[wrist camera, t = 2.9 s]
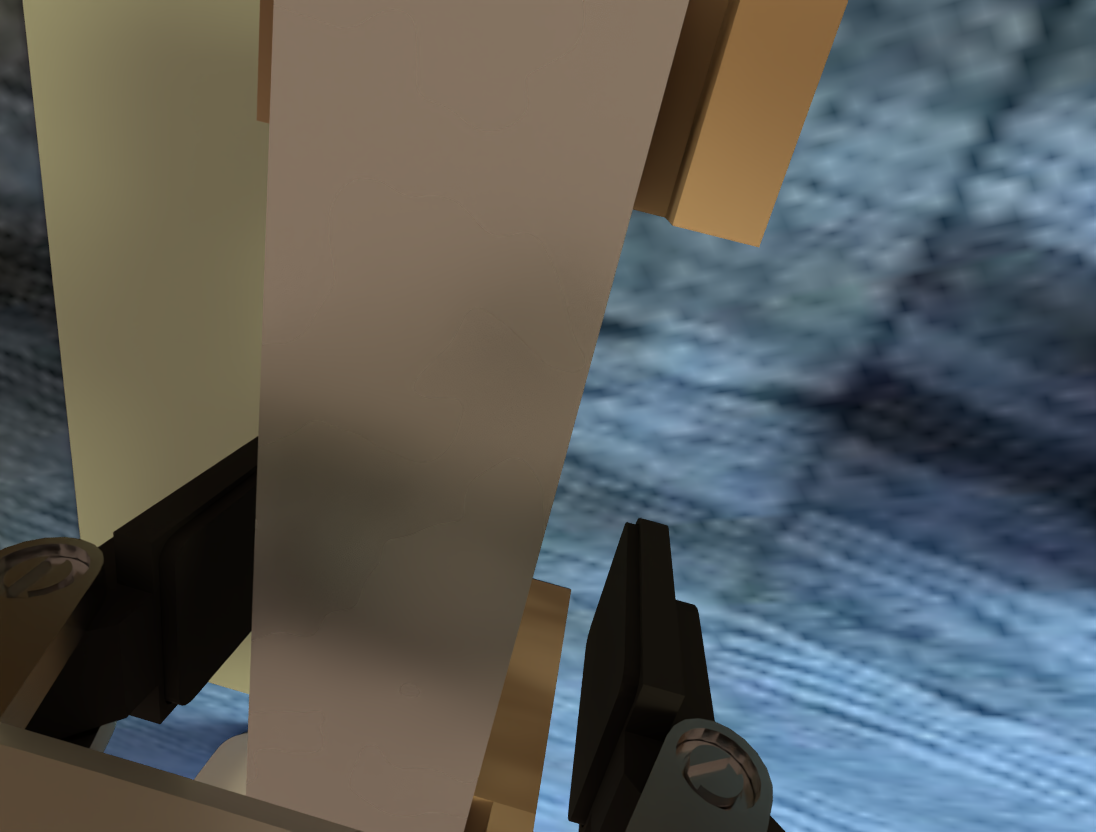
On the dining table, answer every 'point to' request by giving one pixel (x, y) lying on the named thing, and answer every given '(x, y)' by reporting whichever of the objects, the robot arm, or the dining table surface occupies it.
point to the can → (227, 766)
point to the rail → (425, 369)
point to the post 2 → (522, 718)
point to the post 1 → (713, 109)
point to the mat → (153, 243)
